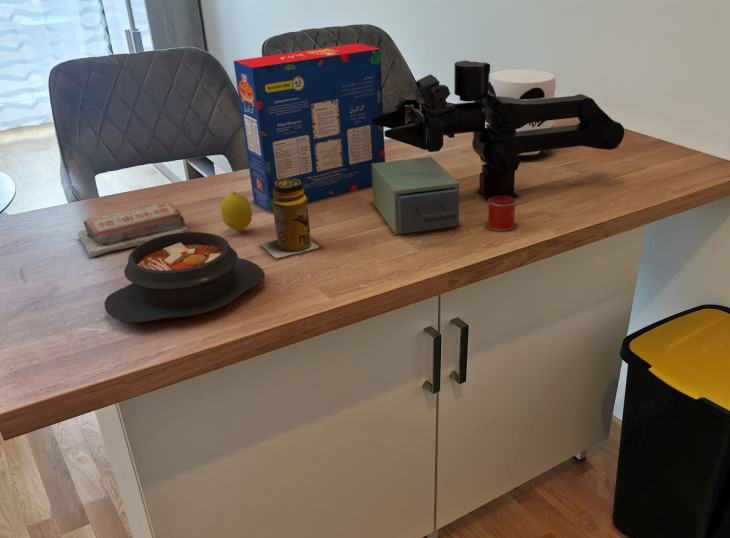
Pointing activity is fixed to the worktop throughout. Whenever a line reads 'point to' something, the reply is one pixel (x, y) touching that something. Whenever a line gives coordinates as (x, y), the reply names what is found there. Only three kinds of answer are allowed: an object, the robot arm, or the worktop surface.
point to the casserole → (181, 278)
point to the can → (501, 213)
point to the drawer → (428, 210)
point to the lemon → (236, 211)
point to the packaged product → (131, 227)
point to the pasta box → (312, 119)
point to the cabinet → (406, 184)
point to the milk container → (524, 93)
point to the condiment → (290, 219)
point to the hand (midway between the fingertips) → (378, 127)
